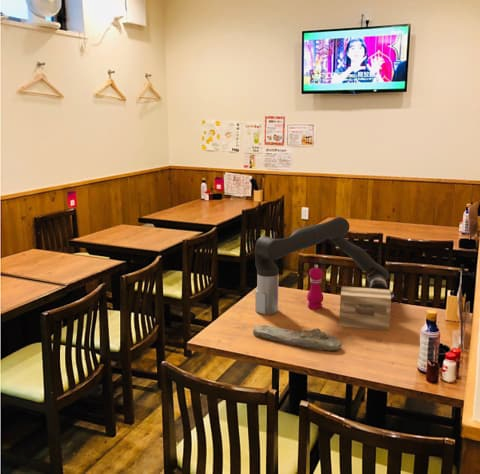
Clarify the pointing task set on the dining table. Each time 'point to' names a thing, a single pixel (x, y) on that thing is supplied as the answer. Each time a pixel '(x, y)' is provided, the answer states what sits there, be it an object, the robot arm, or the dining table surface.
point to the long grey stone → (299, 337)
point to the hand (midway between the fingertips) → (379, 301)
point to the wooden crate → (365, 308)
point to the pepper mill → (315, 289)
